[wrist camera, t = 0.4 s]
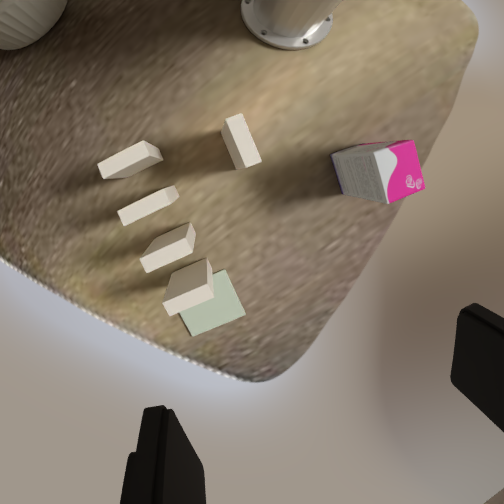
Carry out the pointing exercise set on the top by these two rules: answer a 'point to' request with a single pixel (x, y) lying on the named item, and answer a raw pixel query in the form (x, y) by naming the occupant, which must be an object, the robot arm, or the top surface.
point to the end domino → (239, 142)
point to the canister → (27, 21)
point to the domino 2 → (148, 205)
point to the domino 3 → (169, 247)
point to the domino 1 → (130, 161)
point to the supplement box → (379, 170)
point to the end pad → (214, 307)
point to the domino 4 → (189, 287)
